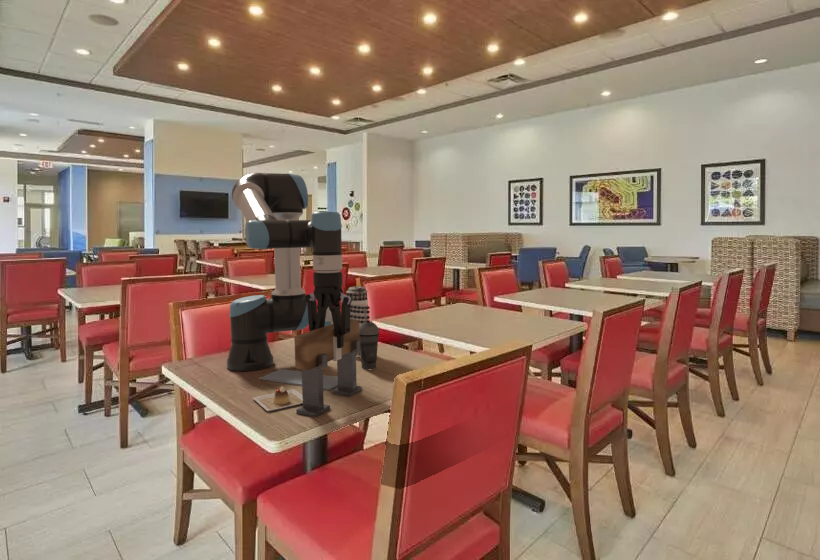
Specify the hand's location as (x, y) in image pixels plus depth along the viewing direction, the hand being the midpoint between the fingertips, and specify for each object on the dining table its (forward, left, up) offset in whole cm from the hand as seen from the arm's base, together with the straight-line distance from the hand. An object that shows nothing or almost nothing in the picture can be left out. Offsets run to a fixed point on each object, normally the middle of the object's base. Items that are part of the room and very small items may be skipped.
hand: (330, 358), depth 128 cm
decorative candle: (-18, +44, -12) cm, 49 cm away
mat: (-18, +12, -12) cm, 25 cm away
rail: (0, 0, 0) cm, 0 cm away
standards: (0, 0, -12) cm, 12 cm away
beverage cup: (-6, +31, -12) cm, 34 cm away
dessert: (-12, -6, -12) cm, 18 cm away
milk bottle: (-35, +50, -12) cm, 62 cm away
